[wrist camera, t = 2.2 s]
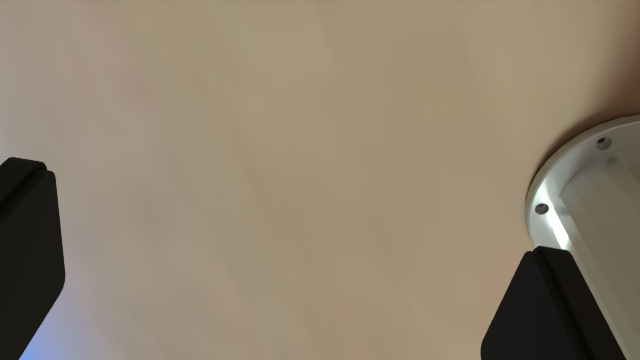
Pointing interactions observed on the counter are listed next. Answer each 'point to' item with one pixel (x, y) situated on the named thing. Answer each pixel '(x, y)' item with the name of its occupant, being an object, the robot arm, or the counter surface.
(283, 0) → the counter surface
